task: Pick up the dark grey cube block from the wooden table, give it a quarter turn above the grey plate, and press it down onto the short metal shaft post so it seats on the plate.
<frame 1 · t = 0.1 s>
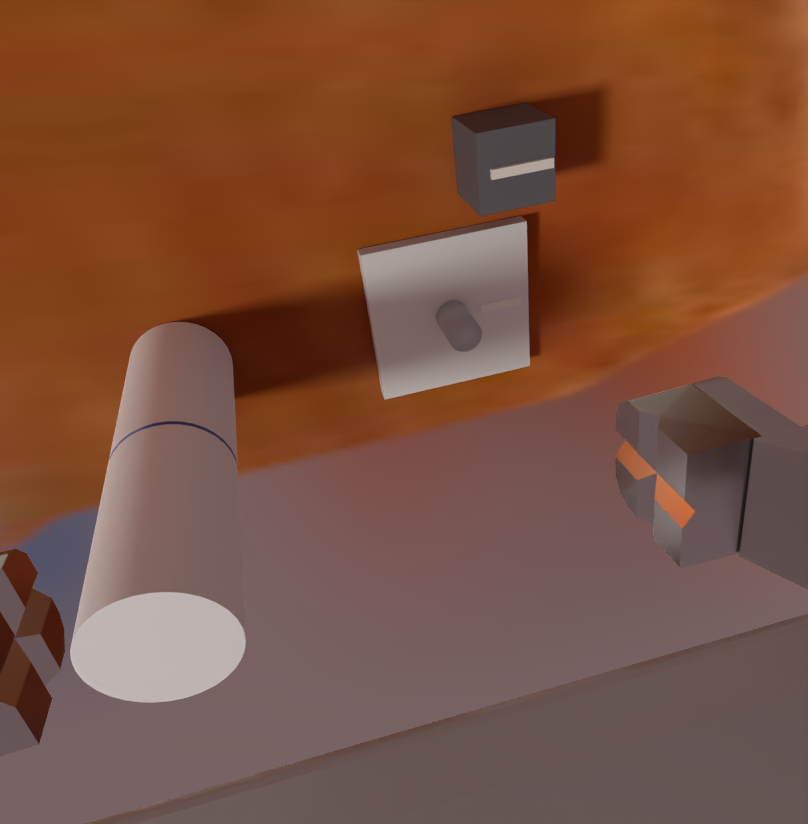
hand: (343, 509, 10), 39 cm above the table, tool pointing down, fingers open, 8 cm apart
shaft base: (447, 308, 52), on the table
cylindrical container: (182, 365, 50), on the table
dark grey cube block: (490, 149, 47), on the table
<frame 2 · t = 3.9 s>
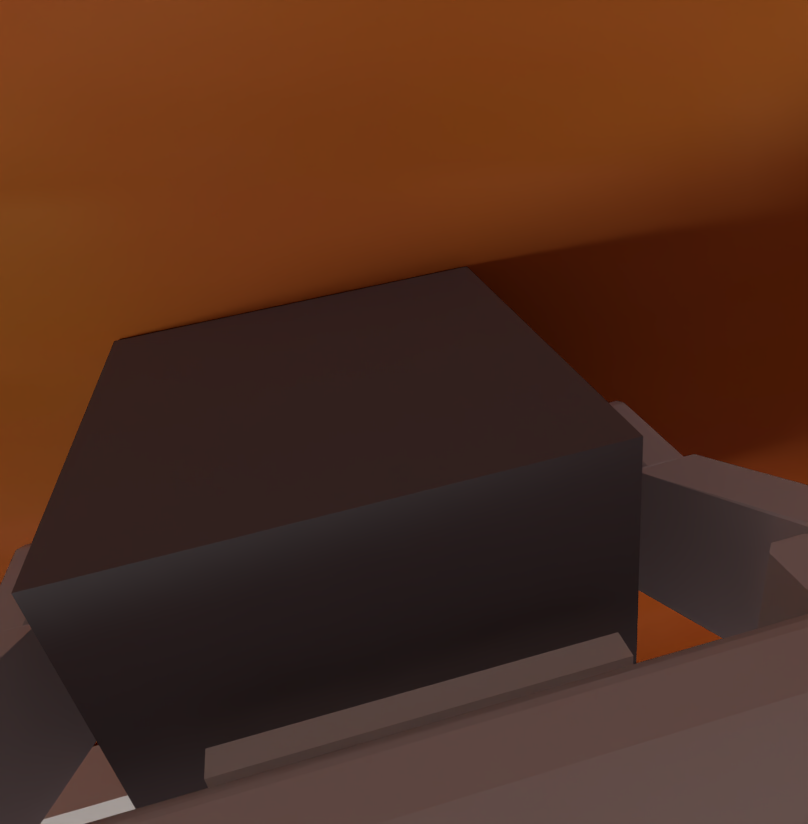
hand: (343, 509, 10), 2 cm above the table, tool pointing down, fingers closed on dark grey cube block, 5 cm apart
dark grey cube block: (330, 451, 11), on the table, touching gripper
when the fingers open (3 cm above the table, at t = 9.1 s): dark grey cube block stays where it is, resting on shaft base.
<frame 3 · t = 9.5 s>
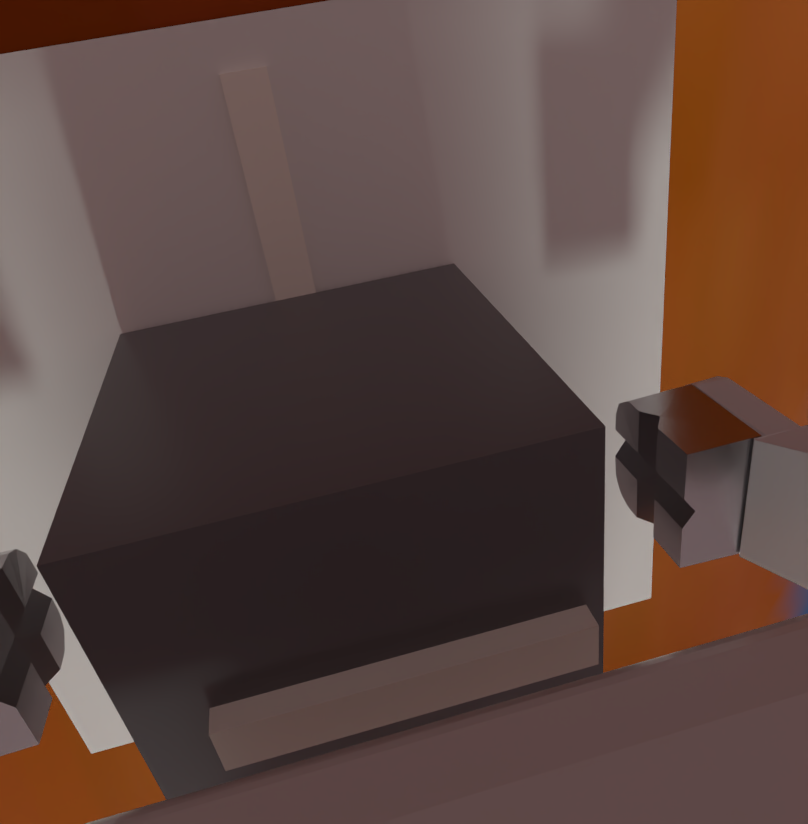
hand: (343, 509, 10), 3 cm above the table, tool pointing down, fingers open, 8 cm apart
shaft base: (319, 396, 13), on the table
dark grey cube block: (325, 438, 12), point 1 cm above the table, touching shaft base
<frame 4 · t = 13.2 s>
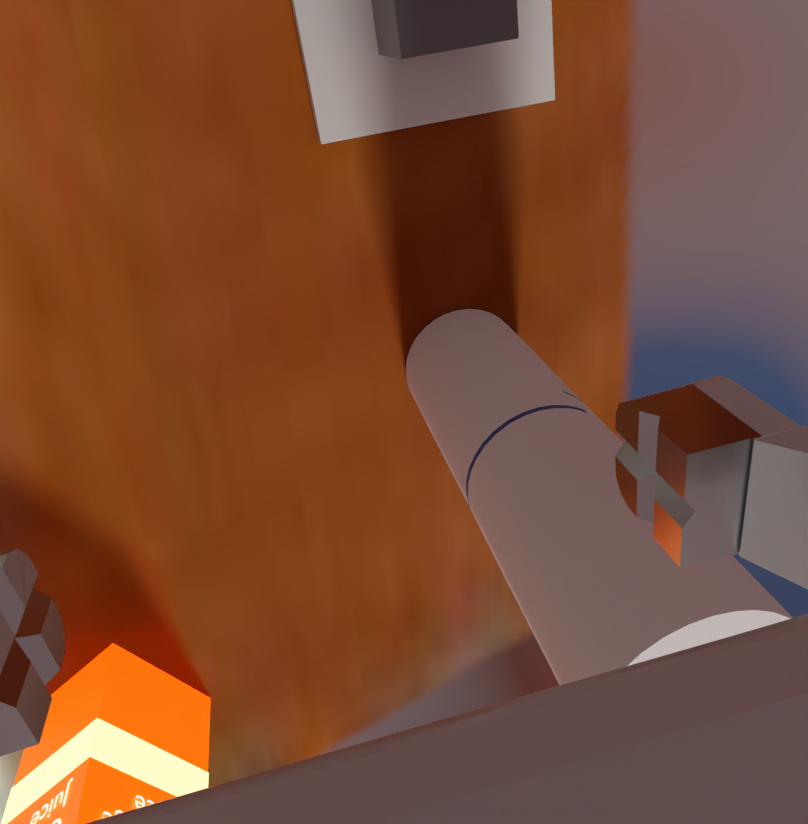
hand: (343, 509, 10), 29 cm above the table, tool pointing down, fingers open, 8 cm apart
cylindrical container: (462, 363, 42), on the table
orange juice: (126, 700, 49), on the table
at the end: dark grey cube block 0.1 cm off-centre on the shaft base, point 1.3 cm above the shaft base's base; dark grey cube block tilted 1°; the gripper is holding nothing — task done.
